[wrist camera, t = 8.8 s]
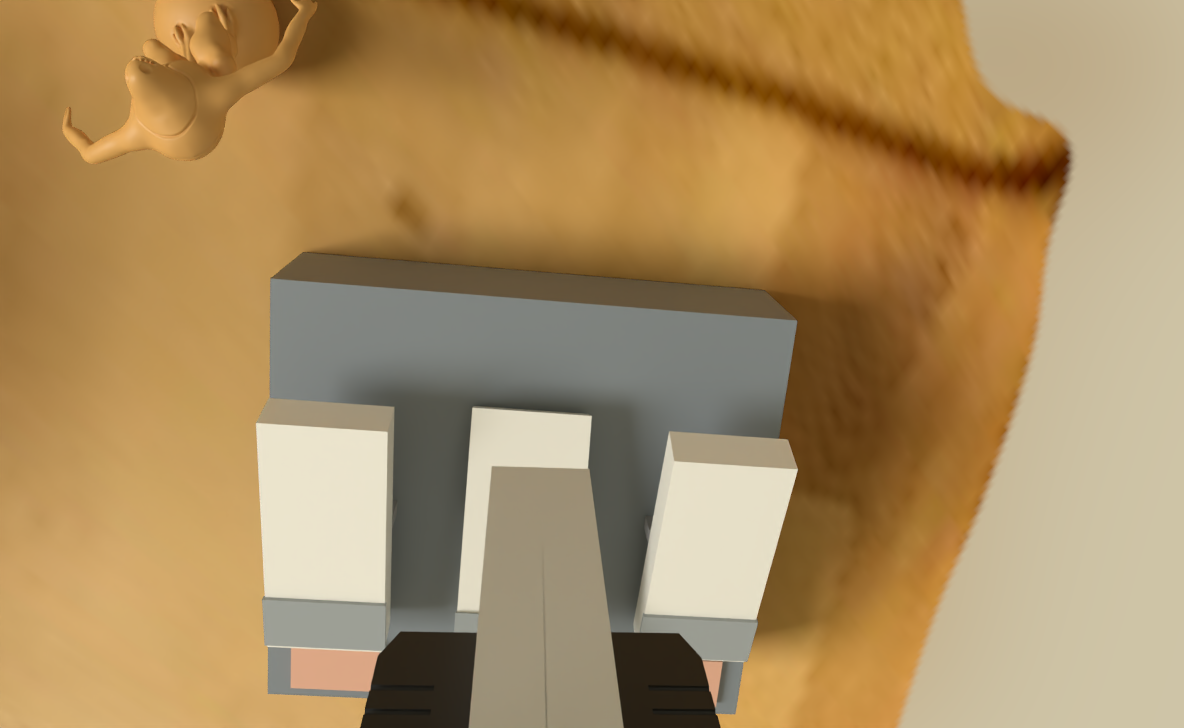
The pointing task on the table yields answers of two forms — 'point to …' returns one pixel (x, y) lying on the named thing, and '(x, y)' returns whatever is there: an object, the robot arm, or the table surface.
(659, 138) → the table surface
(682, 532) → the switch
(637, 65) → the table surface
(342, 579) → the switch
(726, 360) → the switch unit
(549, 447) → the switch
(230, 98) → the figurine
